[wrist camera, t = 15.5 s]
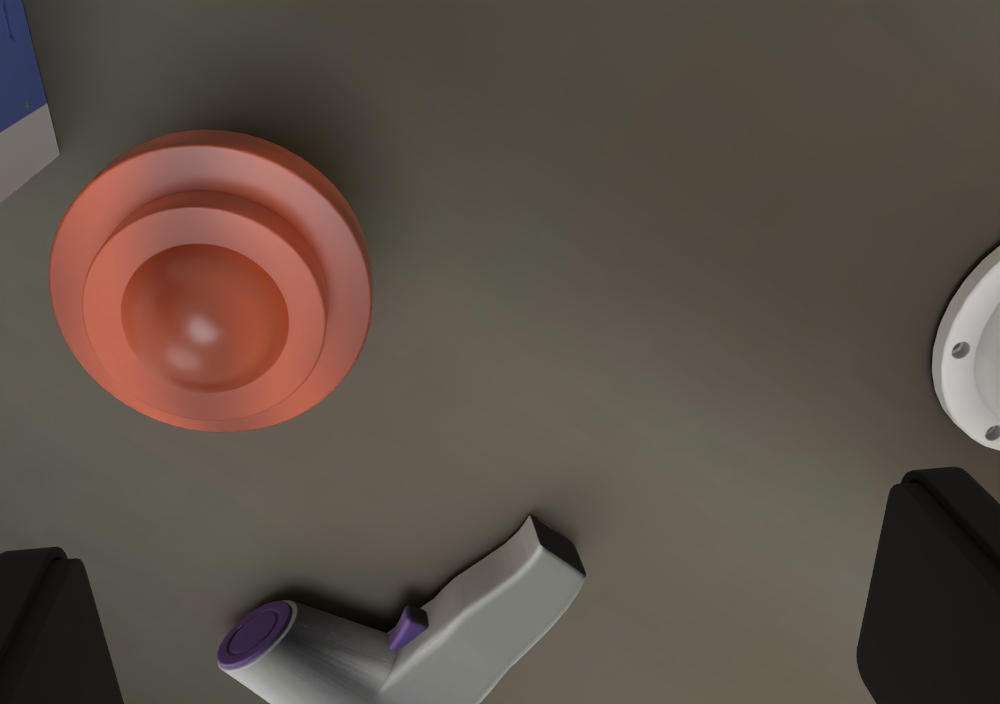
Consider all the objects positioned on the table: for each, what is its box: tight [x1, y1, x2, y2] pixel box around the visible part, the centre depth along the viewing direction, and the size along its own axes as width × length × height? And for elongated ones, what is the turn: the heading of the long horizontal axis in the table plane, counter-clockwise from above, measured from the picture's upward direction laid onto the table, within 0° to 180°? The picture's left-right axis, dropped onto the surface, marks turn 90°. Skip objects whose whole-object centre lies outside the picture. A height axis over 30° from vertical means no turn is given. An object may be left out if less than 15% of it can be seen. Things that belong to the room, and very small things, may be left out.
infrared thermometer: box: [217, 515, 586, 704], centre depth 45 cm, size 5×12×15 cm
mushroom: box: [49, 130, 372, 432], centre depth 32 cm, size 10×10×12 cm
